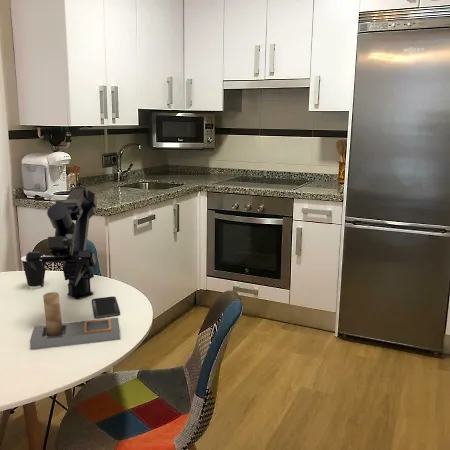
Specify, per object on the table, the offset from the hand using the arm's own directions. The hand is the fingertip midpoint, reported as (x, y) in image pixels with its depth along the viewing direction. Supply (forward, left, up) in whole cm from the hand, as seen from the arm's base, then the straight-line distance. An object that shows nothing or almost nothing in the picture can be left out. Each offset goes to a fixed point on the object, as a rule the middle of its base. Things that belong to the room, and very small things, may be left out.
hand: (58, 285), depth 136 cm
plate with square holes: (0, +8, -13) cm, 15 cm away
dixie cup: (-12, -38, -13) cm, 42 cm away
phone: (-17, -3, -13) cm, 22 cm away
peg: (+5, +5, -13) cm, 15 cm away
